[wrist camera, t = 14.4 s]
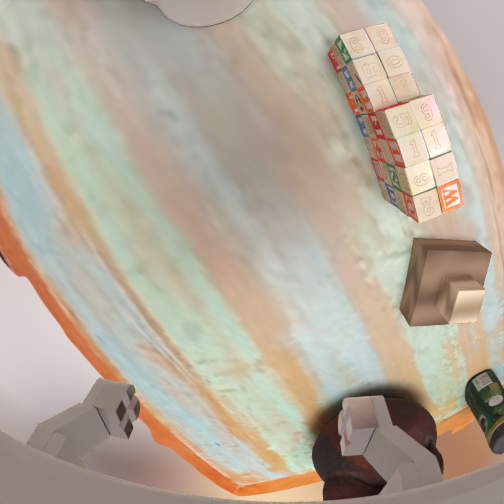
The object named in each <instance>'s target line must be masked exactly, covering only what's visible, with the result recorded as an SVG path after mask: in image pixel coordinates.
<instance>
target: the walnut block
mask: <svg viewBox="0 0 504 504" xmlns="http://www.w3.org/2000/svg"><path fill="white" fill-rule="evenodd" d="M491 254H492V253H491V252H490V251H489V250H487V249H486V248H484V247H483V246H482V245H480V244H479V243H477V242H476V241H461V240H443V239H423V238H414V241H413V247H412V253H411V259H410V264H409V269H408V274H407V279H406V284H405V289H404V293H403V298H402V302H401V306H400V311H401V312H402V314H403V316H404V317H405V319H406V321H407V322H408V324H409V326H429V325H445V324H449V323H448V322H447V321H446V319H445V318H444V317H443V315H442V314H441V313H440V311H439V310H438V309H437V308H436V306H435V304H436V301H437V297H438V293H439V289H440V285H441V281H442V277H443V275H470V276H472V277H473V278H474V279H475V280H476V281H477V282H478V283H479V284H480V285H481V286H482V287H483V285H484V281H485V277H486V274H487V270H488V266H489V262H490V258H491ZM468 323H471V322H468ZM456 324H458V323H456Z"/></svg>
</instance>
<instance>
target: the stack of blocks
mask: <svg viewBox="0 0 504 504" xmlns="http://www.w3.org/2000/svg"><path fill="white" fill-rule="evenodd" d="M328 55H329V57H330V59H331V61H332V63H333V65H334V67H335V69H336V72H337V73H338V74H337V75H338V77H339V80H340V82H341V84H342V86H343V88H344V91H345V93H346V95H347V98H348V100H349V103H350V105H351V107H352V110H353V112H354V114H355V116H356V118H357V121H358V123H359V126H360V129H361V131H362V134H363V136H364V139H365V141H366V144H367V147H368V150H369V152H370V155H371V160H372V163H373V166H374V168H375V172H376V175H377V178H378V181H379V184H380V188H381V191H382V194H383V197H384V199H385V200H387V201H388V202H389V203H391V204H393V205H394V206H396V207H397V208H398V209H400V211H402V212H403V213H404V214H406V215H407V216H410V217H411V218H412V219H414V220H415V221H416V222H418V223H422V222H424V221H427V220H429V219H432V218H434V217H437V216H439V215H442V213H446V212H449V211H451V210H453V209H455V208H458V207H460V206H462V205H464V200H463V195H462V191H461V186H460V182H459V179H458V178H459V174H458V170H457V166H456V162H455V159H454V155H453V152H452V151H451V148H452V147H451V144H450V141H449V138H448V135H447V132H446V128H445V125H444V123H443V122H442V118H441V115H440V112H439V109H438V107H437V104H436V101H435V99H434V96H433V94H430V95H422V96H420V93H419V90H418V88H417V86H416V83H415V81H414V78H413V76H412V73H411V70H410V67H409V65H408V63H407V60H406V58H405V56H404V54H403V52H402V50H401V48H400V47H399V45H398V43H397V41H396V39H395V37H394V35H393V33H392V31H391V29H390V27H389V25H388V23H384V24H379V25H375V26H371V27H367V28H364V29H360V30H356V31H352V32H349V33H345V34H341V35H339V36H338V38H337V39H336V41H335V44H334V45H333V46H332V48H331V50H330V51H329V53H328Z"/></svg>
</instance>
